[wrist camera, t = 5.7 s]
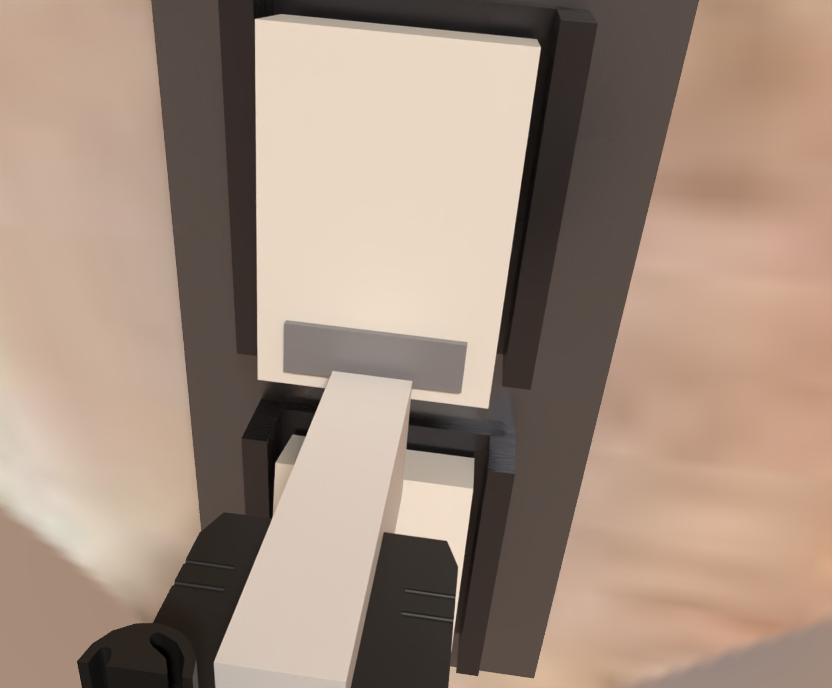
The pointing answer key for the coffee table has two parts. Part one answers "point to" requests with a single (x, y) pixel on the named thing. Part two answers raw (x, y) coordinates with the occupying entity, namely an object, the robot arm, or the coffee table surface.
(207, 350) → the rocker switch panel
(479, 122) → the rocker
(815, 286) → the coffee table surface
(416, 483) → the rocker
